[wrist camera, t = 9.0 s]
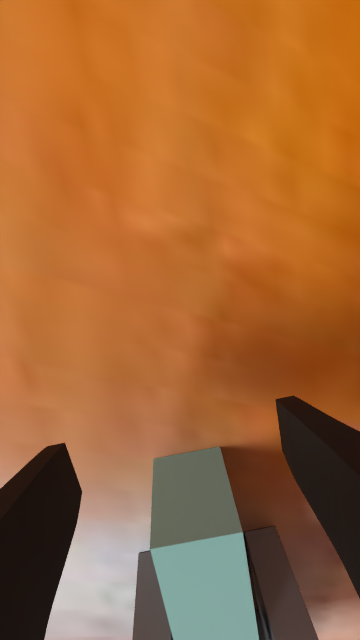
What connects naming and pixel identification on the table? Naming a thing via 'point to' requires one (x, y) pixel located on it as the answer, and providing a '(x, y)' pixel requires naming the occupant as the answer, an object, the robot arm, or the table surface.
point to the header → (270, 589)
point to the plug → (200, 549)
